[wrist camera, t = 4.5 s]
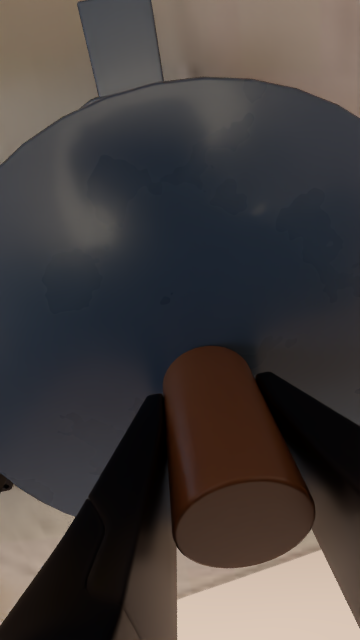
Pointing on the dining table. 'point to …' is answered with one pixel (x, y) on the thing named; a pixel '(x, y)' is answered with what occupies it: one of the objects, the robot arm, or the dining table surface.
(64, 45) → the dining table surface
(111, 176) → the pot lid
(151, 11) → the pot
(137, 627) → the robot arm
